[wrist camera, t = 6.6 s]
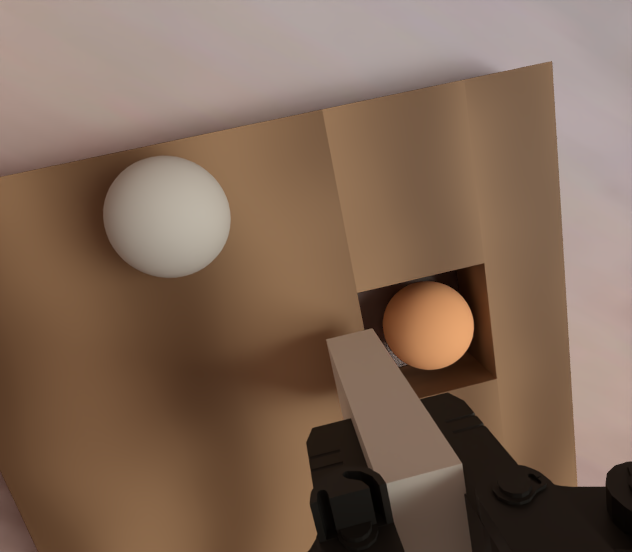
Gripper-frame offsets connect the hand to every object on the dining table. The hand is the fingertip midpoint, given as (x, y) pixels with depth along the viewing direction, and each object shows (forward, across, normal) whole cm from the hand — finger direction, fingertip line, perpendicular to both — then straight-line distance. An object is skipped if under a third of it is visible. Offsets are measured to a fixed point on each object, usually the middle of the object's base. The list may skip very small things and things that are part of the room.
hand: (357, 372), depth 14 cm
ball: (+2, +3, 0) cm, 4 cm away
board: (+4, -2, 0) cm, 4 cm away
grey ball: (0, -4, +6) cm, 7 cm away
